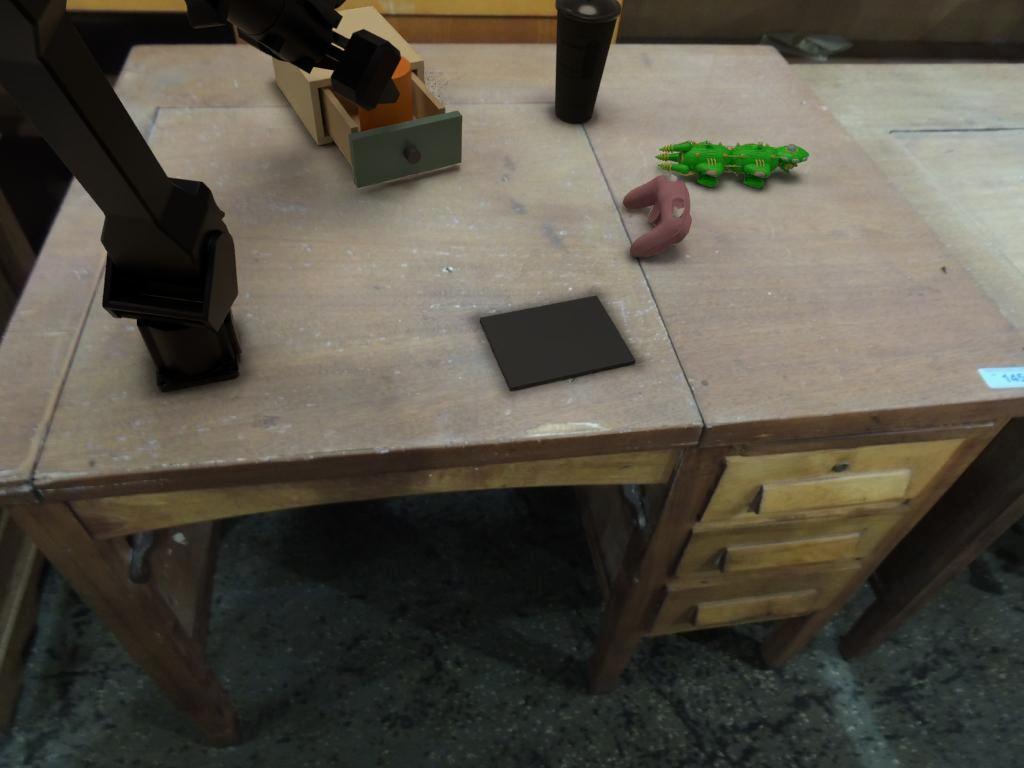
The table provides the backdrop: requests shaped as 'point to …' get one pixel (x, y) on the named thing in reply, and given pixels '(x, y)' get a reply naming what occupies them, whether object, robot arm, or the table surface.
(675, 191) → the video game controller
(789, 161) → the crocodile figurine
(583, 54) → the drinking cup
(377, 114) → the orange bottle
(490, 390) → the table surface
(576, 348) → the mat
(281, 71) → the cabinet
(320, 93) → the drawer
